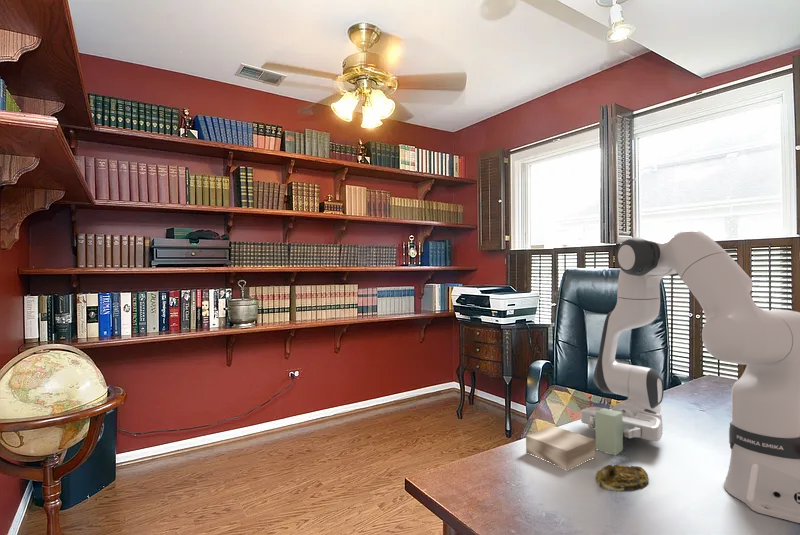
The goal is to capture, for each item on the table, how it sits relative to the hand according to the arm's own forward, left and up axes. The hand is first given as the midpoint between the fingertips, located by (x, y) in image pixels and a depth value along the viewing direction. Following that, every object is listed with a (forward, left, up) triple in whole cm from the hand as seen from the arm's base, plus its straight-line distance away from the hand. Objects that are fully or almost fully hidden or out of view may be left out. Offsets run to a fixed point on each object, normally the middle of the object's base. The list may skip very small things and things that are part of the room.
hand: (608, 429), depth 112 cm
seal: (-9, +14, -6) cm, 17 cm away
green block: (0, -1, -6) cm, 6 cm away
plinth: (+7, +12, -6) cm, 15 cm away
